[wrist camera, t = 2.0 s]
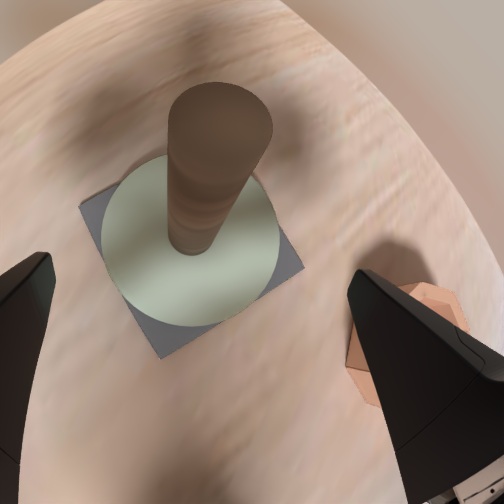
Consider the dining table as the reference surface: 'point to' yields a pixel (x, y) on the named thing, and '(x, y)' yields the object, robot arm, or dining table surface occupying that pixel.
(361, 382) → the bowl
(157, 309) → the wooden peg on disc
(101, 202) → the mat
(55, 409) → the dining table surface
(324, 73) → the dining table surface
